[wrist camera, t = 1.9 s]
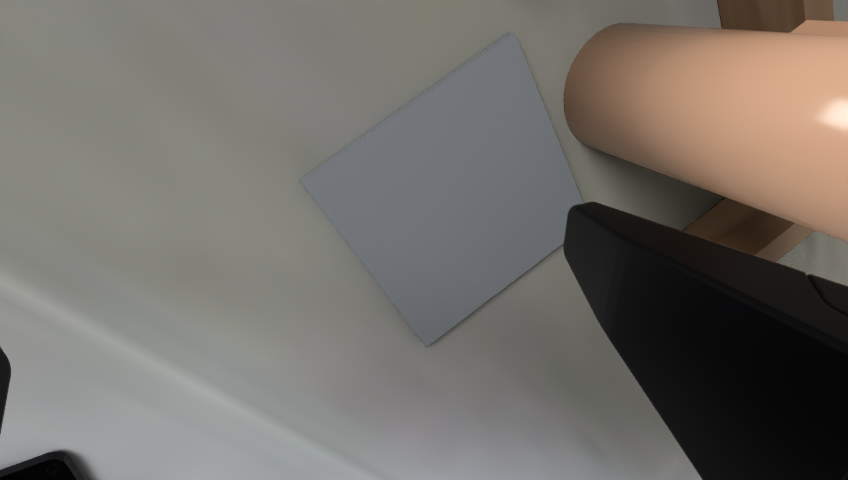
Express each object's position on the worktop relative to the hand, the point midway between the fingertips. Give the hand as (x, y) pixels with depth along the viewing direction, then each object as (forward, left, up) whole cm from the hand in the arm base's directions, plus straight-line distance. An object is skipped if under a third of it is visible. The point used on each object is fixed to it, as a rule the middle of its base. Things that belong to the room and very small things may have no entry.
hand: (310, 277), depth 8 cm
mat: (-5, -8, -12) cm, 15 cm away
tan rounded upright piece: (-2, -17, -12) cm, 21 cm away
